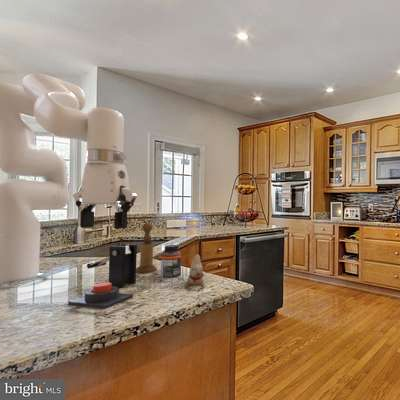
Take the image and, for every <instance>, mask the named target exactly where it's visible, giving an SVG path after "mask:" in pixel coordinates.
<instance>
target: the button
mask: <svg viewBox="0 0 400 400" xmlns="http://www.w3.org/2000/svg"><path fill="white" fill-rule="evenodd" d="M111 285H112V283H109V281H108V282H107V281H105V282H104V281H103V282H98V283H95V284H93V285H92V289H93V293H103V292H108V291H111Z"/></svg>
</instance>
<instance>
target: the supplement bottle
mask: <svg viewBox="0 0 400 400" xmlns="http://www.w3.org/2000/svg"><path fill="white" fill-rule="evenodd" d="M160 255H161V257H160V277H161V278H164V279H172V278H173V279H174V278H178V277H180V276H182V253H181V251H180V250H179V244H166V245H164V250H163V252H162V253H161V254H160Z"/></svg>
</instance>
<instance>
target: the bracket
mask: <svg viewBox="0 0 400 400" xmlns="http://www.w3.org/2000/svg"><path fill="white" fill-rule="evenodd" d="M128 245H129V247H130V250H131V254H128V255H126V256H125V254H126V246H128ZM137 252H138V244H136V243H135V244H134V243H121V245H110V246H109V254H108V256H109V261H108V282H109V283H112V285H111V286H114V287H118V288H119V289H124V288H125V284H126V285H135V284H136V283H137V273H136V268H137V257H138V254H137Z"/></svg>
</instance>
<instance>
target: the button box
mask: <svg viewBox="0 0 400 400" xmlns="http://www.w3.org/2000/svg"><path fill="white" fill-rule="evenodd" d="M133 298H134V294H131V293H123V292H120V288H118V287H114V286H111V291H108V292H103V293H93V288H90V289H88V290H86V291H85V292H84V296H81V297H78V298H74V299H72V300H69V301H68V302H67V305H68V306H74V307H83V308H92V309H100V310H106V309H108V308H111V307H114V306H116V305H118V304H120V303H123V302H126V301H128V300H130V299H133Z"/></svg>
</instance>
